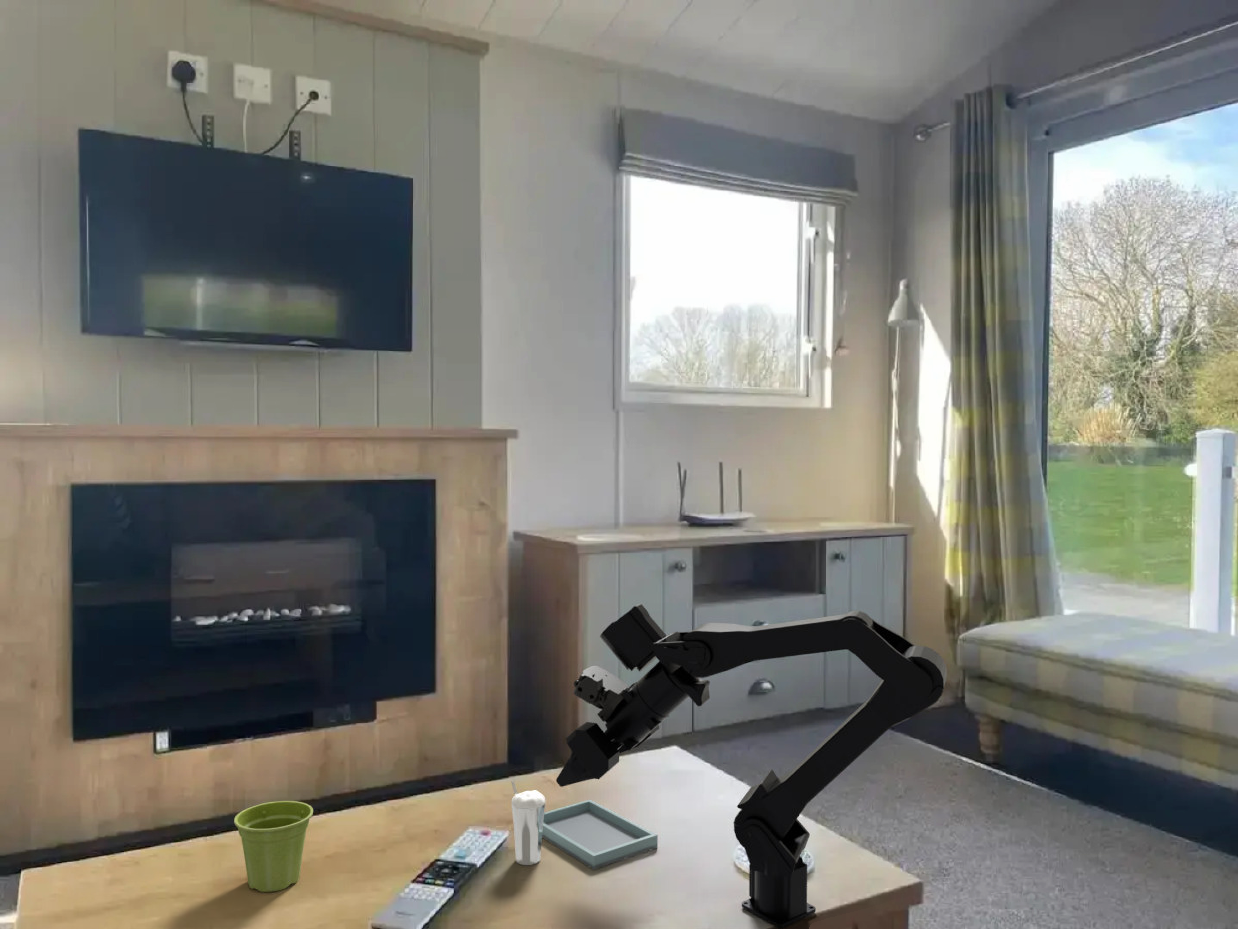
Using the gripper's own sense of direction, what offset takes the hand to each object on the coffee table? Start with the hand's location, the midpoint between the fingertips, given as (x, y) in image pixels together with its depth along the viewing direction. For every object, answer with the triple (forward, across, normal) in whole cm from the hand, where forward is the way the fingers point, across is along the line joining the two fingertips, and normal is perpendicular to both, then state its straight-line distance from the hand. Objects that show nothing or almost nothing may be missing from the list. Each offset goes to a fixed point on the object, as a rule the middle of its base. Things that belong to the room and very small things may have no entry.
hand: (574, 771), depth 121 cm
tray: (+10, -10, +8) cm, 16 cm away
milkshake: (+14, 0, +4) cm, 15 cm away
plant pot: (+33, +18, -14) cm, 40 cm away
